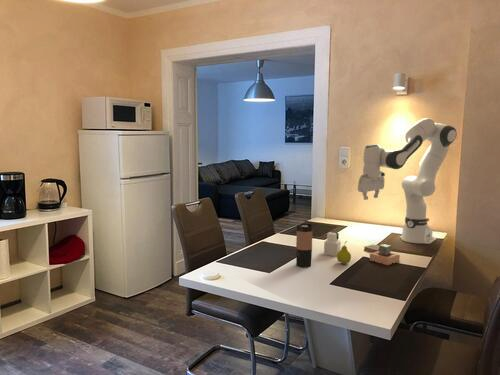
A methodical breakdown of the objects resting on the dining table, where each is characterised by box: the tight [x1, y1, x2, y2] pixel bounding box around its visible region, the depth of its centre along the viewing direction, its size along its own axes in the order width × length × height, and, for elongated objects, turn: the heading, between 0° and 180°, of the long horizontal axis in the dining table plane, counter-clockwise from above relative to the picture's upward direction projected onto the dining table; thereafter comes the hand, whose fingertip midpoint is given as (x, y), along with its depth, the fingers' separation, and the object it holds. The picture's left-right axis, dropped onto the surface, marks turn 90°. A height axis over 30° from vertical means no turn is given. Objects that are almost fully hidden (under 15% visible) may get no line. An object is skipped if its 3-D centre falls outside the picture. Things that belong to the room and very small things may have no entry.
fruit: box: [336, 240, 352, 265], centre depth 200 cm, size 7×7×12 cm
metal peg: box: [378, 243, 392, 257], centre depth 205 cm, size 4×4×8 cm
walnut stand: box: [363, 244, 379, 253], centre depth 224 cm, size 8×8×2 cm
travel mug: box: [295, 223, 313, 268], centre depth 196 cm, size 8×8×20 cm
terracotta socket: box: [369, 251, 401, 266], centre depth 205 cm, size 10×10×4 cm
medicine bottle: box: [323, 231, 342, 257], centre depth 216 cm, size 7×7×12 cm
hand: (370, 198), depth 224 cm, fingers open, 8 cm apart
